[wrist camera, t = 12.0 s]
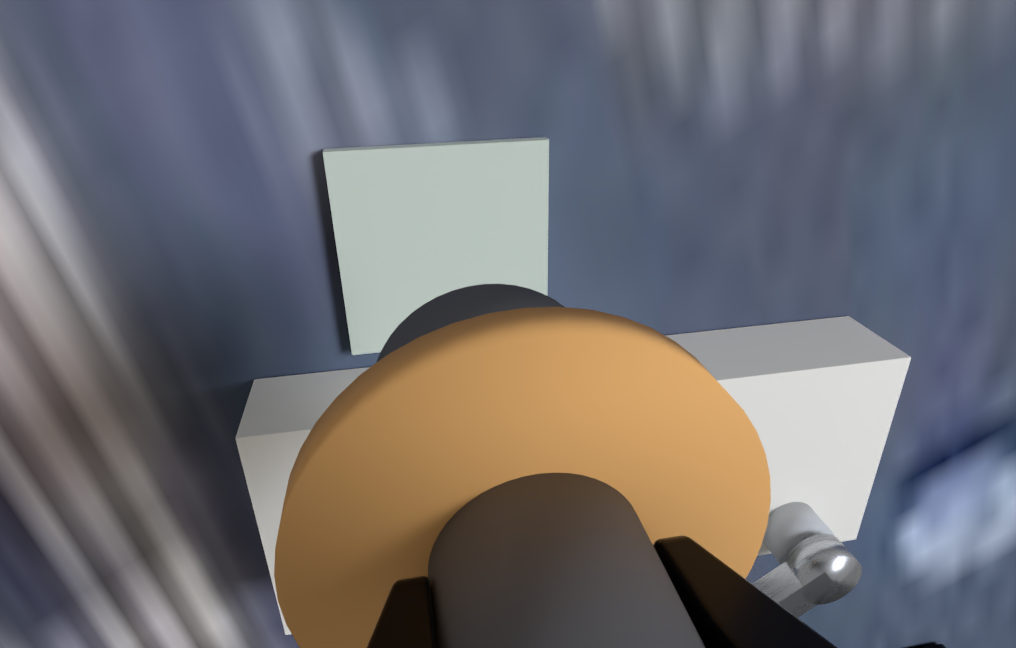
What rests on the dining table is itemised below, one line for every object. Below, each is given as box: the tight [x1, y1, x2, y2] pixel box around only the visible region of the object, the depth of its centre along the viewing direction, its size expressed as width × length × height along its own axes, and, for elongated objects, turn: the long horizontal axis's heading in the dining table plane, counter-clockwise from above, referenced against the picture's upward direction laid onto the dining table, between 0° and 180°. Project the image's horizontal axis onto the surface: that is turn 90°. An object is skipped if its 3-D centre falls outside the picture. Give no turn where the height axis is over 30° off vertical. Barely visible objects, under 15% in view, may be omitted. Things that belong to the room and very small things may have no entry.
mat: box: [323, 137, 549, 355], centre depth 18 cm, size 6×6×1 cm
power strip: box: [235, 316, 911, 635], centre depth 21 cm, size 20×8×4 cm, turn 91°
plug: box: [274, 284, 771, 648], centre depth 8 cm, size 6×6×8 cm
